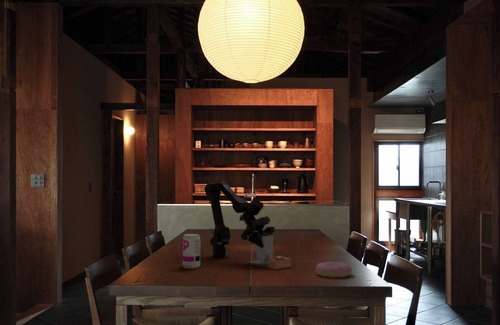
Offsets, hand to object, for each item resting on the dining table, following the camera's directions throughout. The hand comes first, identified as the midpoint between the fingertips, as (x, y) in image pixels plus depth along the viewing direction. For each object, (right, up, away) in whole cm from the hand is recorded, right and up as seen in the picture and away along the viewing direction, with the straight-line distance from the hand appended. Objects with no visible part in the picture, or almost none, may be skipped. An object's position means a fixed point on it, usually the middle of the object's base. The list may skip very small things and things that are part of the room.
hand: (266, 246), depth 240 cm
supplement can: (-35, -9, -5) cm, 37 cm away
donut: (+28, -9, -24) cm, 37 cm away
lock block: (-1, -7, +1) cm, 7 cm away
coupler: (+1, -9, -1) cm, 9 cm away
